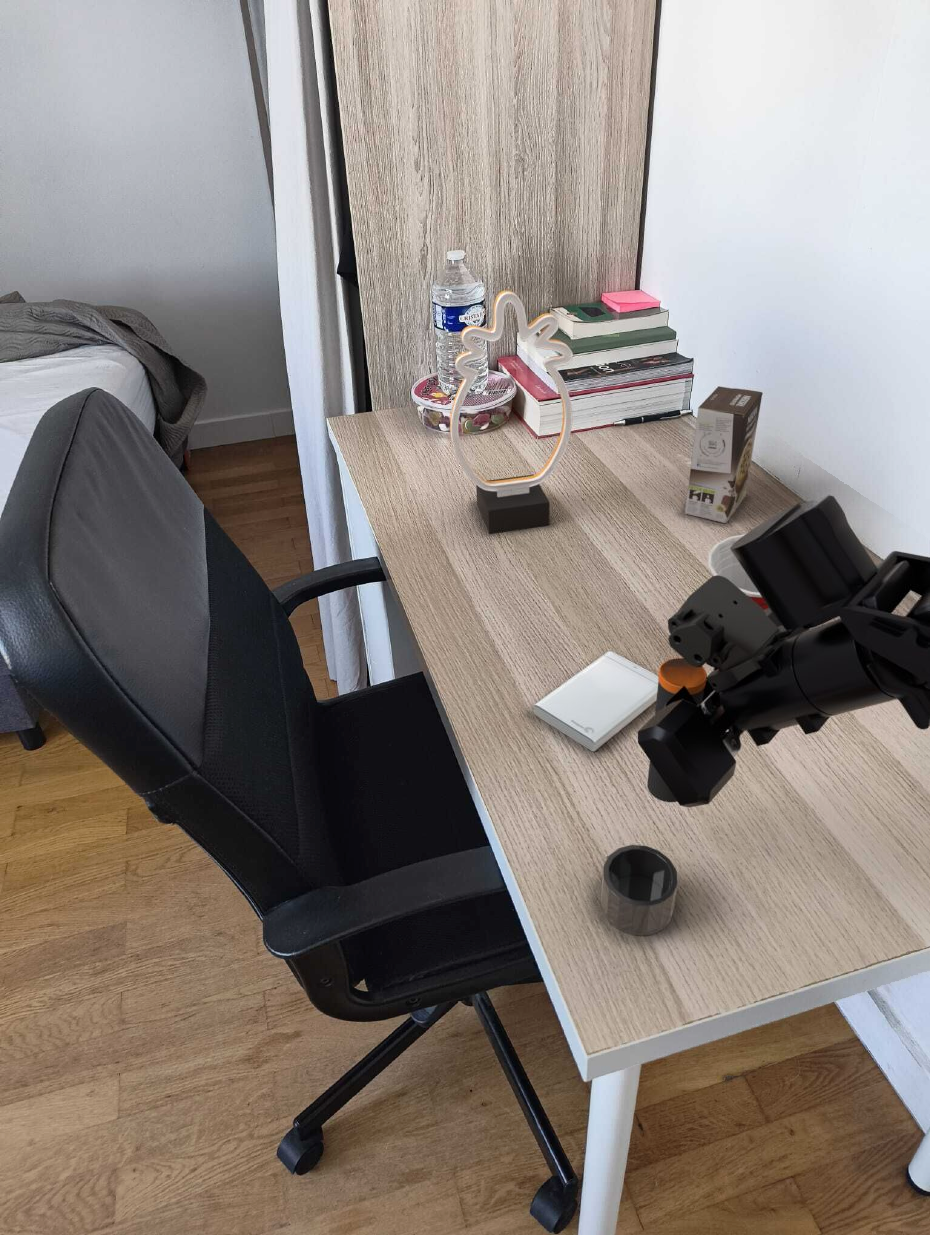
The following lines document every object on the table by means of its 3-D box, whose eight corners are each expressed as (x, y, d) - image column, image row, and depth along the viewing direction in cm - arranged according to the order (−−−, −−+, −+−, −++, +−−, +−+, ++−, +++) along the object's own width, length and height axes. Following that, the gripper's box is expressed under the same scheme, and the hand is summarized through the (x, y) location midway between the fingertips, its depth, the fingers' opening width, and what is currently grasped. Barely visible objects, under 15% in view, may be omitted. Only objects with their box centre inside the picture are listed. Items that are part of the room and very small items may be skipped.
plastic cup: (685, 667, 93) (697, 576, 86) (705, 613, 101) (718, 526, 94) (788, 690, 89) (809, 597, 82) (800, 632, 97) (821, 543, 90)
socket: (685, 924, 68) (690, 894, 65) (618, 944, 66) (621, 914, 64) (653, 867, 72) (657, 837, 70) (590, 885, 71) (592, 854, 69)
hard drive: (594, 741, 82) (669, 680, 89) (533, 703, 87) (608, 648, 94) (594, 753, 83) (668, 692, 90) (533, 714, 88) (607, 659, 95)
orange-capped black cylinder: (675, 766, 72) (690, 652, 65) (697, 795, 69) (716, 680, 62) (638, 778, 71) (650, 664, 64) (660, 808, 68) (674, 692, 61)
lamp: (559, 493, 127) (563, 274, 109) (576, 521, 120) (583, 292, 101) (450, 508, 125) (435, 287, 107) (461, 537, 118) (447, 307, 99)
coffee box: (727, 524, 117) (744, 415, 108) (683, 514, 120) (696, 407, 111) (747, 496, 124) (764, 390, 114) (704, 487, 126) (718, 383, 117)
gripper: (817, 512, 60) (667, 587, 72) (677, 637, 49) (530, 699, 62) (903, 642, 60) (739, 694, 73) (782, 795, 49) (615, 824, 62)
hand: (660, 722), depth 67 cm, fingers closed on orange-capped black cylinder, 3 cm apart
